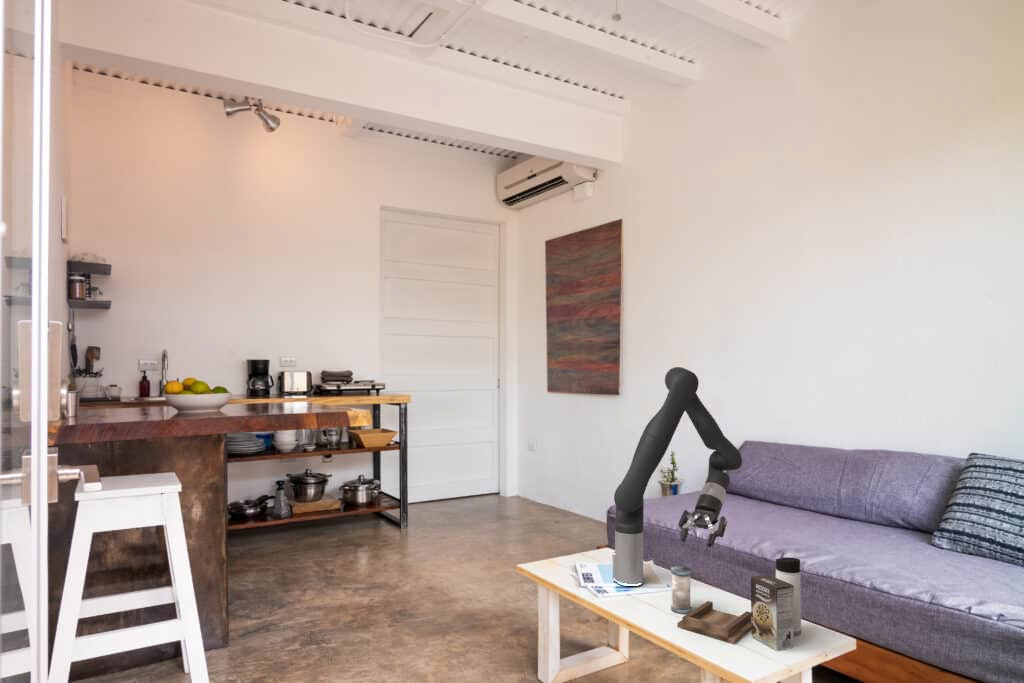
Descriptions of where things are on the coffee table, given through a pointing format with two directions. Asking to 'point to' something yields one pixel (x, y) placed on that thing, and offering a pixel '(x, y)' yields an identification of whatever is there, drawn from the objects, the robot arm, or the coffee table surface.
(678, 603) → the beige and blue cylinder
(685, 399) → the robot arm
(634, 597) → the coffee table surface
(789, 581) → the travel mug
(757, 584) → the coffee box
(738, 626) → the open-sided brown tray
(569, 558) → the coffee table surface
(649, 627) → the coffee table surface
